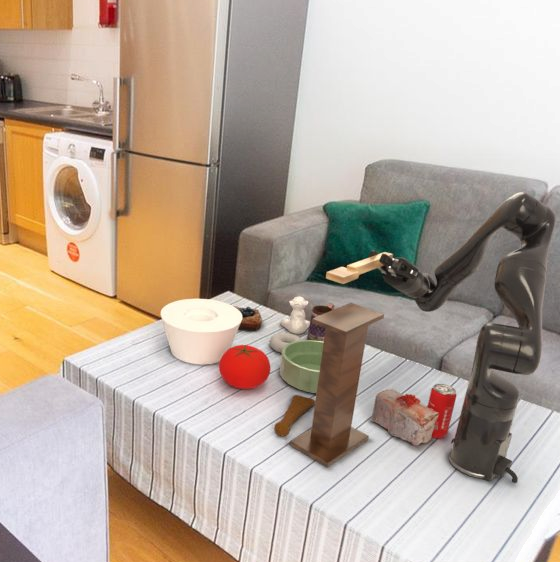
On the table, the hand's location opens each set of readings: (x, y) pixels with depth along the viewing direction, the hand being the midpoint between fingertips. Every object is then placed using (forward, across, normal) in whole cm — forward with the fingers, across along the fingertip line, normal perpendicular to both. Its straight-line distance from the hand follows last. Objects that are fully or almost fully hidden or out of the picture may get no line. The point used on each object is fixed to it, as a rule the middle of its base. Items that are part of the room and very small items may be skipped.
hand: (376, 256), depth 140 cm
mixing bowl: (-18, -12, +34) cm, 40 cm away
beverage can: (-19, +21, +34) cm, 44 cm away
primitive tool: (-1, -4, +44) cm, 44 cm away
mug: (-36, -24, +24) cm, 49 cm away
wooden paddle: (+3, 0, +5) cm, 6 cm away
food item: (-14, +16, +36) cm, 42 cm away
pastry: (-28, -48, +29) cm, 62 cm away
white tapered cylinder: (-6, -43, +41) cm, 59 cm away
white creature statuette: (-36, -34, +24) cm, 55 cm away
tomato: (-3, -22, +43) cm, 48 cm away
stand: (+1, +8, +45) cm, 46 cm away
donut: (-25, -28, +30) cm, 48 cm away
